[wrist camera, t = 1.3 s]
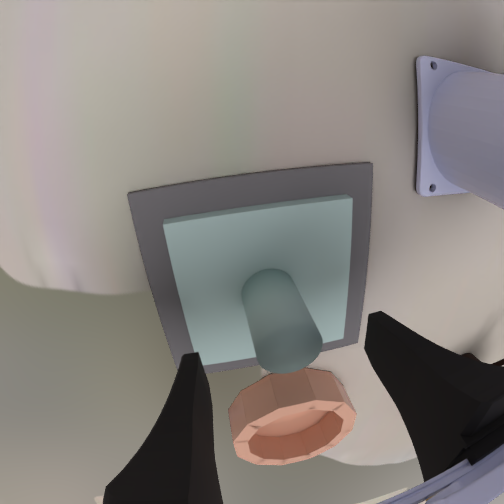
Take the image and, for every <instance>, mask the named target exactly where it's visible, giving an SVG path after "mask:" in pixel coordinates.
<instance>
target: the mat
mask: <svg viewBox="0 0 504 504" xmlns="http://www.w3.org/2000/svg"><path fill="white" fill-rule="evenodd" d="M372 180H373V163H370V162H367V163H351V164H338V165H325V166H313V167H303V168H292V169H283V170H274V171H265V172H257V173H249V174H241V175H233V176H226V177H219V178H212V179H205V180H199V181H192V182H186V183H180V184H174V185H168V186H162V187H156V188H151V189H146V190H140V191H135V192H130V193H128V194H127V196H128V201H129V205H130V210H131V214H132V218H133V223H134V227H135V231H136V235H137V239H138V243H139V247H140V251H141V255H142V259H143V262H144V266H145V270H146V273H147V277H148V280H149V284H150V287H151V291H152V294H153V298H154V301H155V304H156V307H157V310H158V314H159V317H160V320H161V323H162V326H163V329H164V333H165V336H166V339H167V342H168V345H169V347H170V350H171V353H172V356H173V359H174V362H175V365H176V367H177V370H178V368H179V365H180V361H181V357H182V356H183V354H188V353H194V349H193V346H192V342H191V339H190V335H189V331H188V328H187V324H186V320H185V316H184V313H183V309H182V305H181V301H180V297H179V293H178V289H177V285H176V281H175V277H174V273H173V268H172V264H171V260H170V255H169V251H168V246H167V242H166V237H165V233H164V228H163V222H164V219H169V218H175V217H181V216H187V215H193V214H200V213H206V212H213V211H219V210H226V209H233V208H240V207H247V206H254V205H261V204H269V203H276V202H284V201H292V200H300V199H308V198H317V197H326V196H334V195H344V194H347V195H349V196H350V197H352V198H353V206H352V236H351V255H350V271H349V285H348V297H347V308H346V318H345V328H344V337H343V339H339V340H335V341H331V342H326V343H323V345H322V349H321V352H323V351H328V350H332V349H336V348H340V347H344V346H348V345H352V344H355V343H358V338H359V331H360V324H361V317H362V310H363V302H364V293H365V285H366V275H367V265H368V254H369V241H370V226H371V208H372ZM256 365H260V364H259V363H258V361H257V357H253V358H248V359H242V360H236V361H230V362H223V363H217V364H210V365H203V367H204V371H205V374H206V373H213V372H220V371H226V370H232V369H239V368H245V367H250V366H256Z"/></svg>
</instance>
